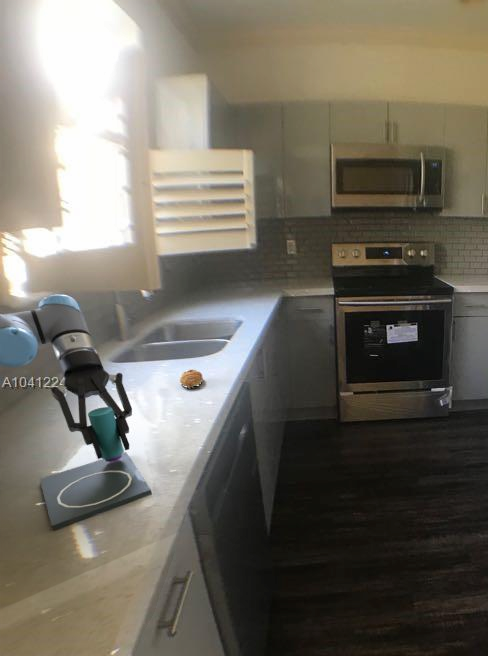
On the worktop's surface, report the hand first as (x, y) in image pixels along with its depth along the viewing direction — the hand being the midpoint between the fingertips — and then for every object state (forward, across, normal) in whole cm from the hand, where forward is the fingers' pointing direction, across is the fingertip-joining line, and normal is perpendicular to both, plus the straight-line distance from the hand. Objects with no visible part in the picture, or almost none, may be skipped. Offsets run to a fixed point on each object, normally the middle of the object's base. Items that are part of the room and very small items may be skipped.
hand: (113, 451), depth 94 cm
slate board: (+6, -5, +1) cm, 8 cm away
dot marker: (0, 0, +5) cm, 5 cm away
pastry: (-27, +30, +34) cm, 52 cm away
